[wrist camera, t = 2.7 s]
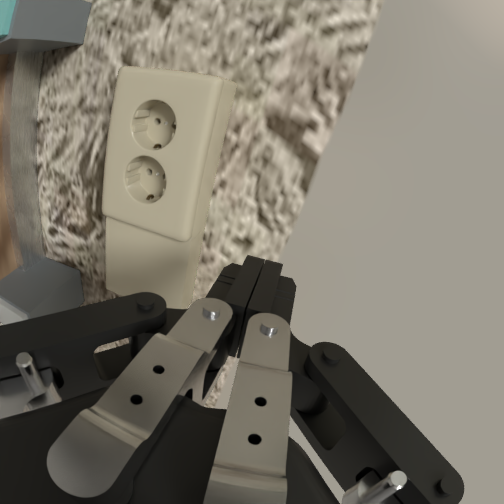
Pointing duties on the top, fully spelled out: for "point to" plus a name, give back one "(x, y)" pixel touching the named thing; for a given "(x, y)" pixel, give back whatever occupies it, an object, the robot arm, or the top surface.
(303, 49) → the top surface
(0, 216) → the mounting panel
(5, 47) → the module
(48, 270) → the block
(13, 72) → the metal rail
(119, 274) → the electrical outlet
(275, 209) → the top surface
